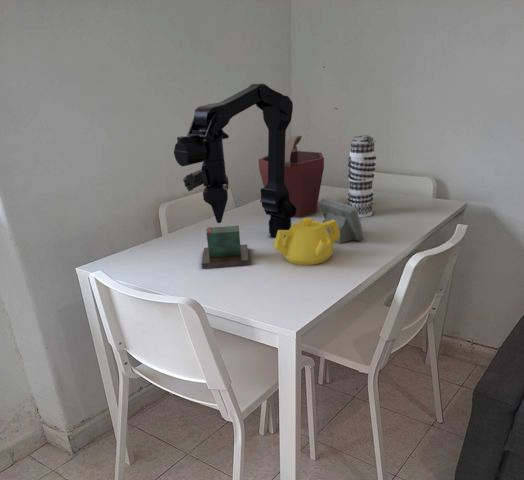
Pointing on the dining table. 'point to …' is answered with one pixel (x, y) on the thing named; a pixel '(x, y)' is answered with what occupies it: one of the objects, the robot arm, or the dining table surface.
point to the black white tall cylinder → (361, 174)
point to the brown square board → (225, 259)
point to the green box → (223, 241)
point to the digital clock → (343, 220)
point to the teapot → (307, 241)
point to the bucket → (299, 176)
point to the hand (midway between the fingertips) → (219, 217)
